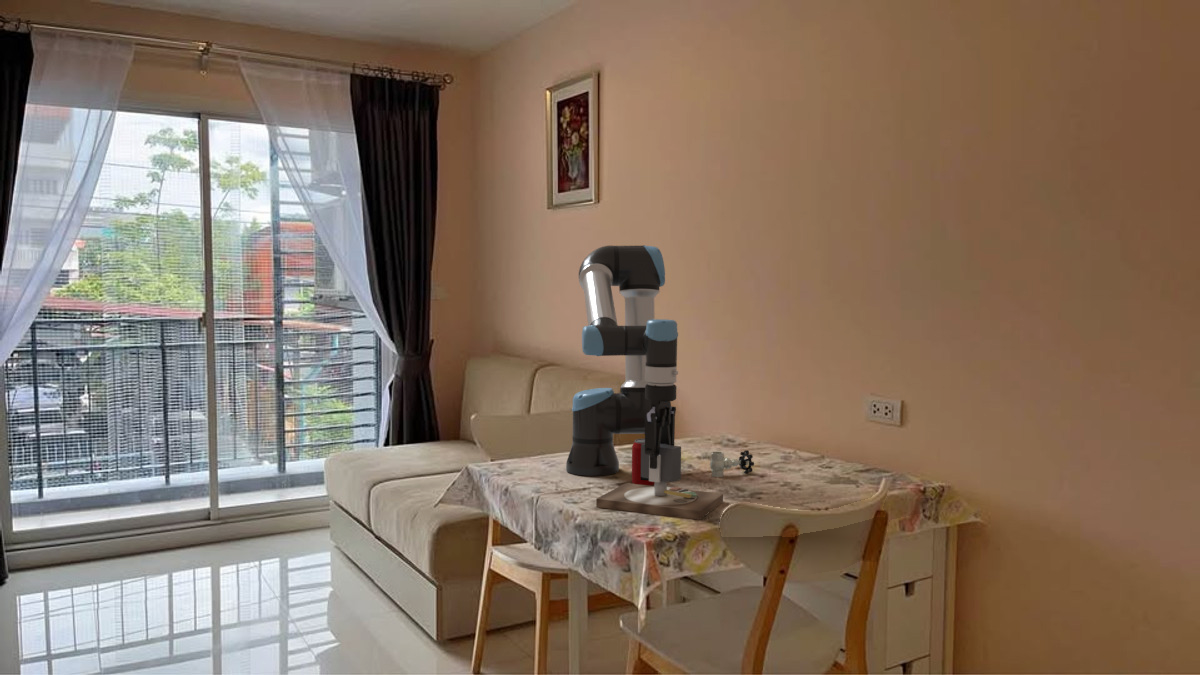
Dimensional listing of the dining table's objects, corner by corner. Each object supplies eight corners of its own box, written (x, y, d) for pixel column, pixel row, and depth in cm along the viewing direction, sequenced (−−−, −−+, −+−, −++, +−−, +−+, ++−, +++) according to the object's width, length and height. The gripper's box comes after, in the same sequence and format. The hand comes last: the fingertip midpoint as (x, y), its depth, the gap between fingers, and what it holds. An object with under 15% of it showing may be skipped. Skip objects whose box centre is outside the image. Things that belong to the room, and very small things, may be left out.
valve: (716, 479, 235) (754, 475, 239) (717, 455, 234) (754, 452, 239) (704, 474, 241) (741, 470, 246) (705, 451, 241) (741, 448, 245)
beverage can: (649, 489, 223) (649, 443, 222) (627, 485, 226) (627, 441, 225) (661, 484, 228) (662, 439, 228) (639, 481, 232) (639, 437, 231)
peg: (640, 493, 208) (641, 444, 208) (650, 490, 212) (650, 442, 211) (685, 501, 200) (686, 451, 200) (694, 498, 203) (695, 448, 203)
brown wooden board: (596, 506, 205) (596, 496, 204) (625, 490, 221) (625, 481, 221) (700, 519, 194) (700, 508, 194) (723, 501, 210) (723, 491, 210)
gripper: (659, 388, 196) (658, 488, 198) (689, 381, 211) (687, 474, 213) (630, 386, 200) (629, 484, 201) (662, 379, 215) (660, 470, 217)
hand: (659, 479), depth 207 cm, fingers closed on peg, 5 cm apart
